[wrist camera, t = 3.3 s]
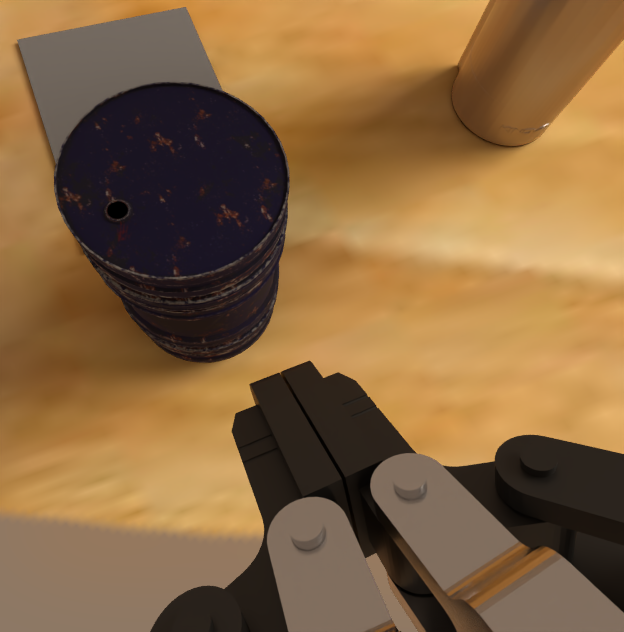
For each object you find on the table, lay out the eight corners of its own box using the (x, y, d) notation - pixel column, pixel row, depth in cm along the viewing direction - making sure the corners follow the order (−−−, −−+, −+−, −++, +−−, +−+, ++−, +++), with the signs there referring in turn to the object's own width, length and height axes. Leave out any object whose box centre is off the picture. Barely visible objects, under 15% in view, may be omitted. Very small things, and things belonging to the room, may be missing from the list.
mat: (18, 42, 39) (17, 39, 39) (186, 10, 42) (185, 7, 42) (84, 253, 34) (83, 251, 34) (268, 198, 37) (268, 196, 37)
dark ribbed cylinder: (219, 210, 36) (198, 45, 22) (304, 305, 35) (339, 191, 21) (105, 288, 34) (0, 153, 19) (193, 394, 32) (147, 332, 18)
